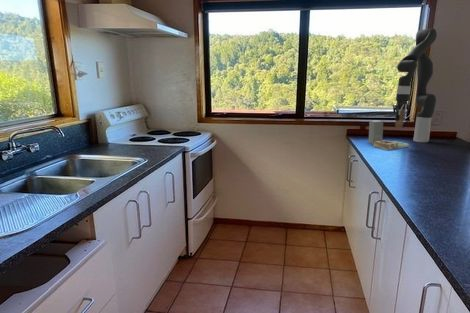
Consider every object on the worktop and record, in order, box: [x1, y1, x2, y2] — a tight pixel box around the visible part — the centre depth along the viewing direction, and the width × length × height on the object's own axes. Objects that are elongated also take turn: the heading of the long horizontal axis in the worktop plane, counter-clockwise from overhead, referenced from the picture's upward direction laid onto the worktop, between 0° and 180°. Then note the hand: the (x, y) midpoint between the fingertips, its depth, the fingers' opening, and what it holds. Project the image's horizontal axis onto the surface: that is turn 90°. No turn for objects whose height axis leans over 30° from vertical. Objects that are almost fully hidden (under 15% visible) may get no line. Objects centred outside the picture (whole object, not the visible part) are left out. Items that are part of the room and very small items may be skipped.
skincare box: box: [368, 119, 384, 145], centre depth 219 cm, size 8×7×16 cm
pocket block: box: [373, 139, 399, 151], centre depth 207 cm, size 10×10×4 cm
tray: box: [393, 140, 410, 149], centre depth 212 cm, size 10×10×2 cm
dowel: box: [394, 109, 406, 129], centre depth 208 cm, size 4×4×12 cm
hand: (399, 120), depth 208 cm, fingers closed on dowel, 4 cm apart
